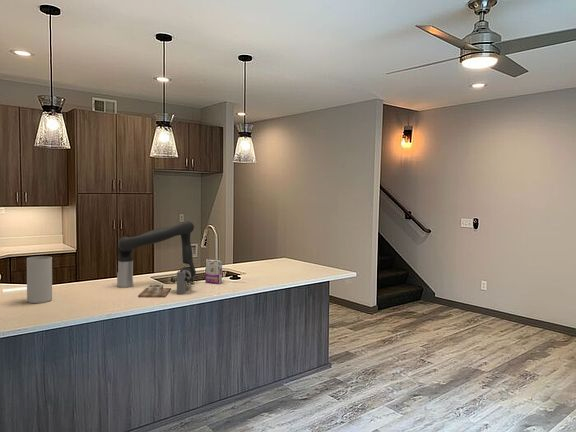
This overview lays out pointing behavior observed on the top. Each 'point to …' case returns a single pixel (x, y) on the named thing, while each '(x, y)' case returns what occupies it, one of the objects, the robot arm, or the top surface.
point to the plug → (181, 281)
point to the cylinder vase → (39, 279)
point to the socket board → (155, 291)
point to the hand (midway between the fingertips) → (180, 281)
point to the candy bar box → (213, 271)
